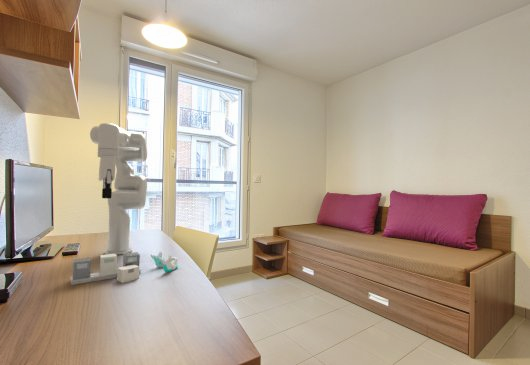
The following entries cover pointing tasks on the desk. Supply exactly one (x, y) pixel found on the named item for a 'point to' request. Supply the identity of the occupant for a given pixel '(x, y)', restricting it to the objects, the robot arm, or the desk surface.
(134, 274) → the block
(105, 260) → the block
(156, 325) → the desk surface
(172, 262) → the jawbone
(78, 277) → the rail
